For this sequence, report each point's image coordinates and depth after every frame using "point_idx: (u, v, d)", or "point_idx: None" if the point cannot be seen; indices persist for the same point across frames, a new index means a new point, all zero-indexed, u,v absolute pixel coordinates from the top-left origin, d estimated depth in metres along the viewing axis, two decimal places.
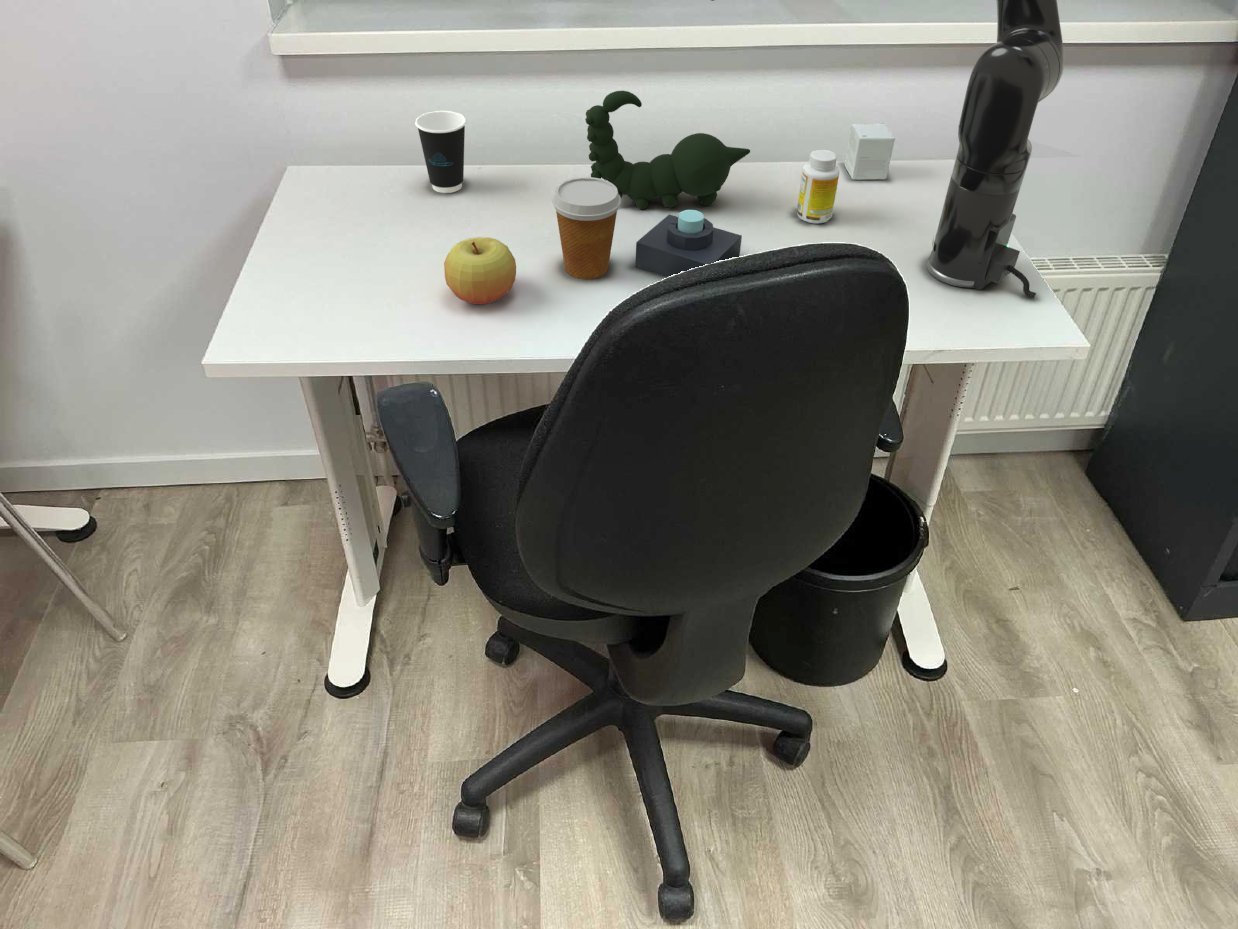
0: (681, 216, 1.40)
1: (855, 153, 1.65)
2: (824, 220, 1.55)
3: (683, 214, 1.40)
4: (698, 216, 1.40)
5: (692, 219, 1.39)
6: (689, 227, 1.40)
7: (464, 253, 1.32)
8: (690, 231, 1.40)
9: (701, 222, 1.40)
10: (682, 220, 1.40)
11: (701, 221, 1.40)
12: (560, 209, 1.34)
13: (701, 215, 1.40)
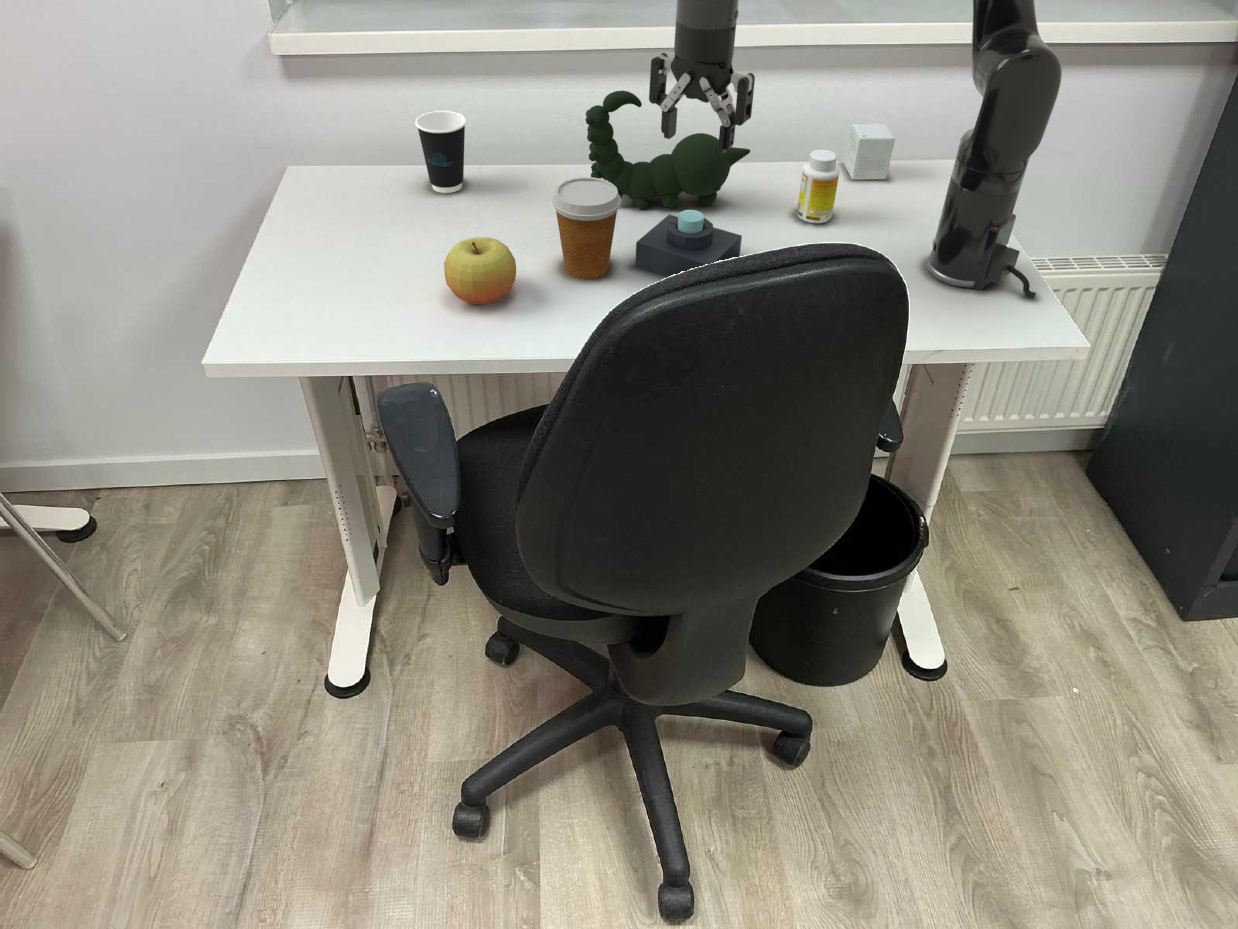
0: (681, 216, 1.40)
1: (855, 153, 1.65)
2: (824, 220, 1.55)
3: (683, 214, 1.40)
4: (698, 216, 1.40)
5: (692, 219, 1.39)
6: (689, 227, 1.40)
7: (464, 253, 1.32)
8: (690, 231, 1.40)
9: (701, 222, 1.40)
10: (682, 220, 1.40)
11: (701, 221, 1.40)
12: (560, 209, 1.34)
13: (701, 215, 1.40)
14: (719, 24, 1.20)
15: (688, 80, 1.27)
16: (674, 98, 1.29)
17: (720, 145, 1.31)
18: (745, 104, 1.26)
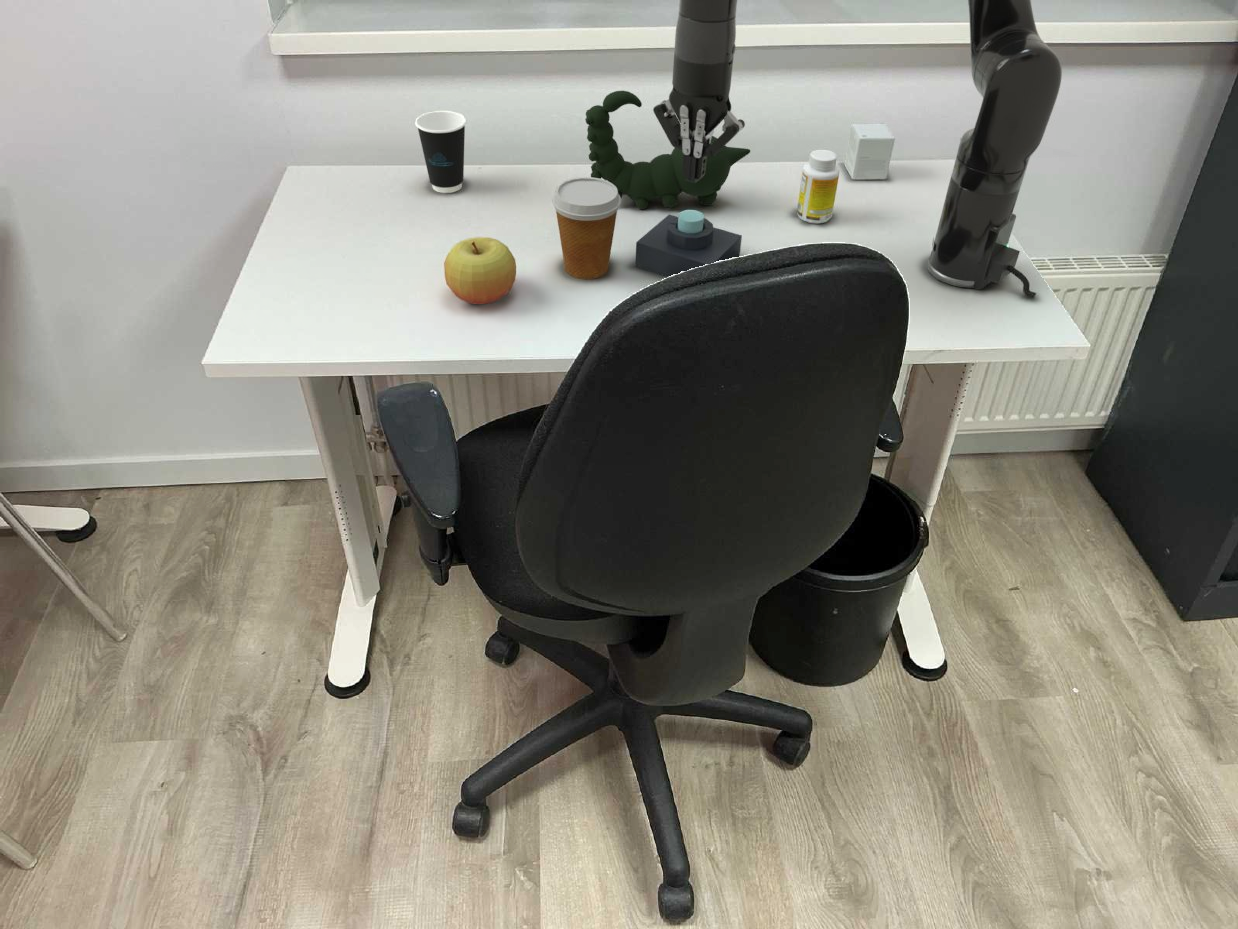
0: (681, 216, 1.40)
1: (855, 153, 1.65)
2: (824, 220, 1.55)
3: (683, 214, 1.40)
4: (698, 216, 1.40)
5: (692, 219, 1.39)
6: (689, 227, 1.40)
7: (464, 253, 1.32)
8: (690, 231, 1.40)
9: (701, 222, 1.40)
10: (682, 220, 1.40)
11: (701, 221, 1.40)
12: (560, 209, 1.34)
13: (701, 215, 1.40)
14: (717, 59, 1.22)
15: (686, 112, 1.29)
16: (687, 135, 1.31)
17: (692, 175, 1.35)
18: (723, 145, 1.30)
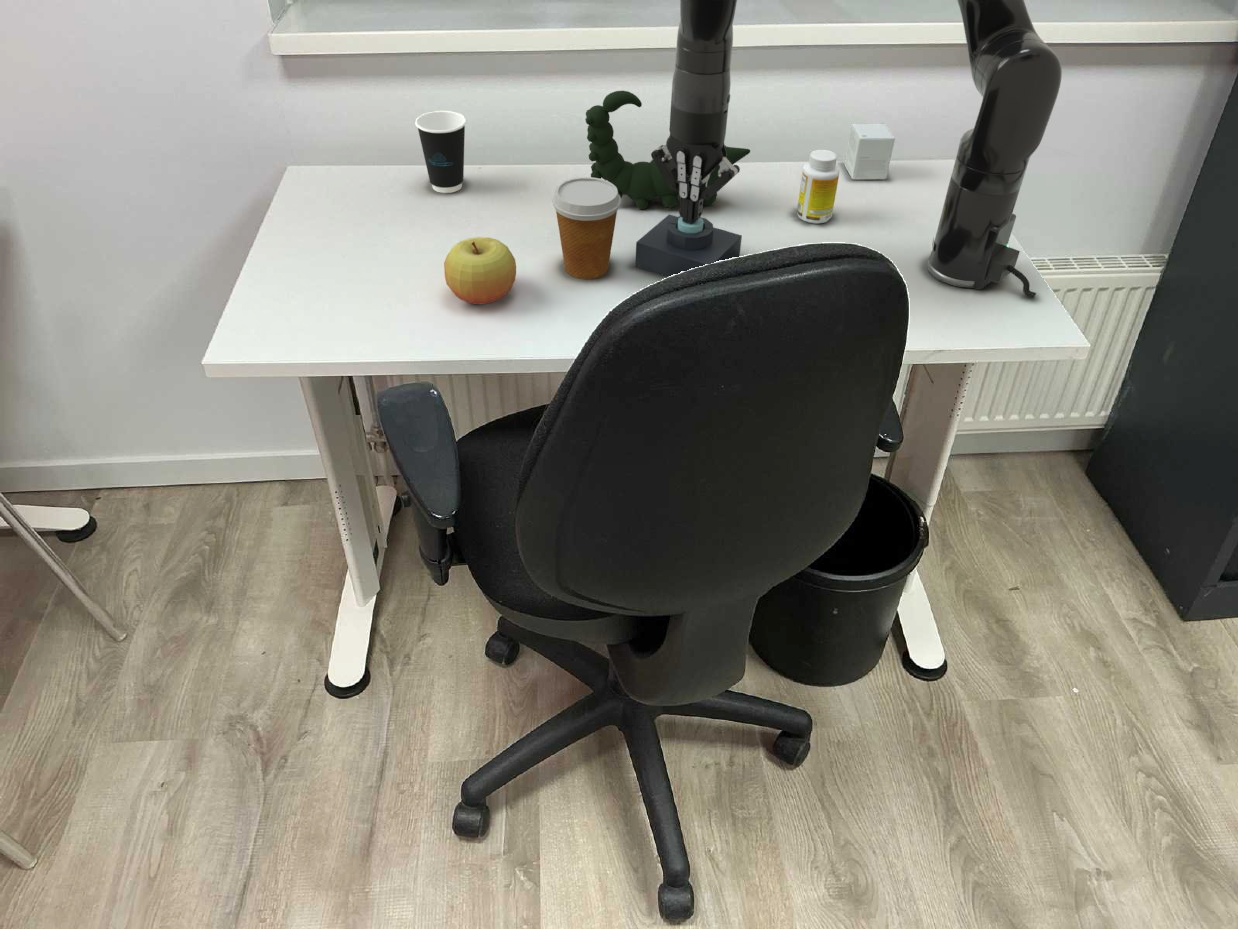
0: (681, 222, 1.40)
1: (855, 153, 1.65)
2: (824, 220, 1.55)
3: None
4: (697, 222, 1.41)
5: (691, 225, 1.40)
6: (689, 232, 1.40)
7: (464, 253, 1.32)
8: None
9: (701, 228, 1.40)
10: (681, 225, 1.40)
11: (701, 226, 1.40)
12: (560, 209, 1.34)
13: (701, 220, 1.41)
14: (712, 109, 1.27)
15: (683, 158, 1.33)
16: (684, 179, 1.35)
17: (689, 217, 1.39)
18: (719, 189, 1.34)
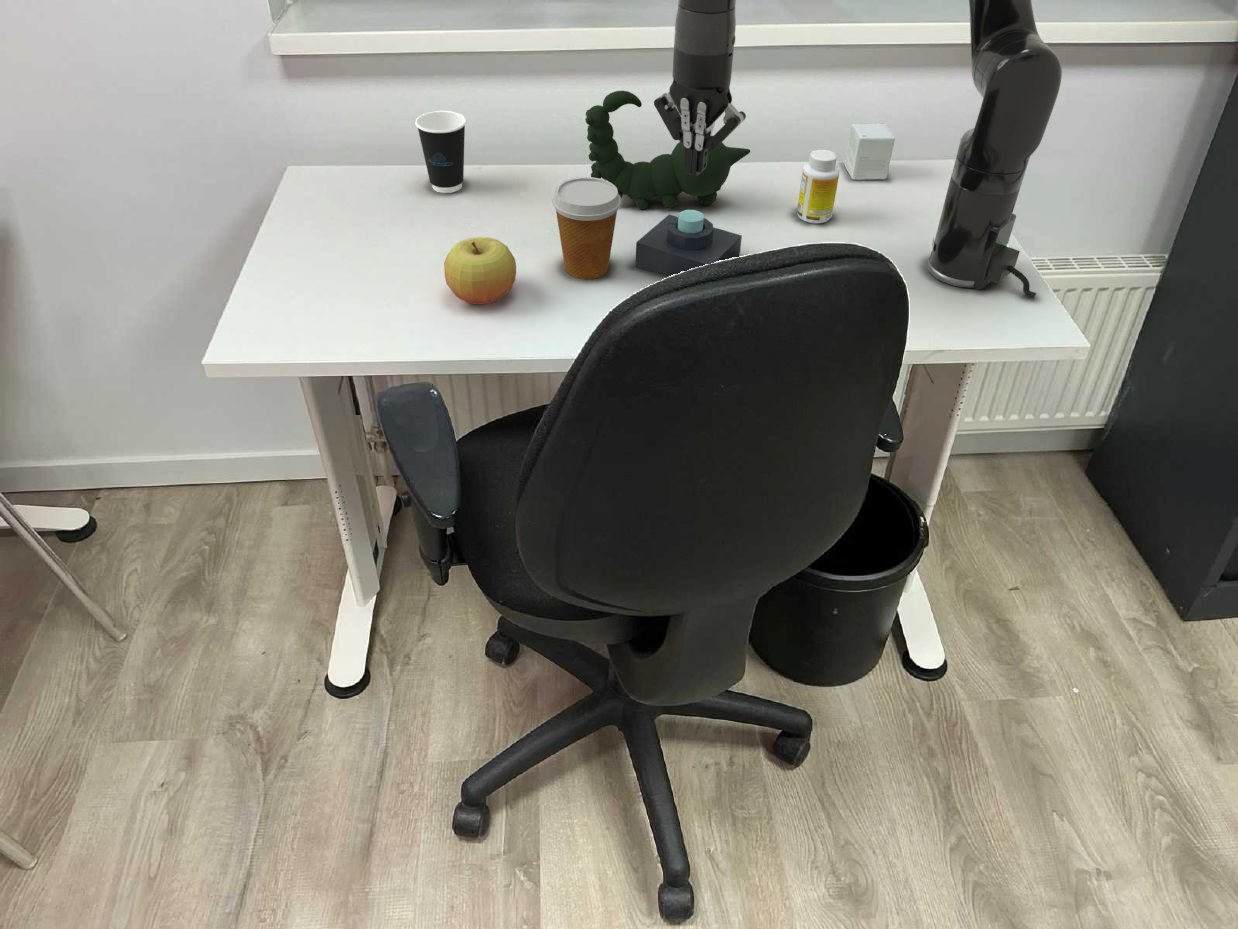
0: (681, 216, 1.40)
1: (855, 153, 1.65)
2: (824, 220, 1.55)
3: (683, 214, 1.40)
4: (698, 216, 1.40)
5: (692, 219, 1.39)
6: (689, 227, 1.40)
7: (464, 253, 1.32)
8: (690, 231, 1.40)
9: (701, 222, 1.40)
10: (682, 220, 1.40)
11: (701, 221, 1.40)
12: (560, 209, 1.34)
13: (701, 215, 1.40)
14: (717, 50, 1.22)
15: (686, 104, 1.29)
16: (688, 128, 1.31)
17: (693, 168, 1.34)
18: (724, 137, 1.30)
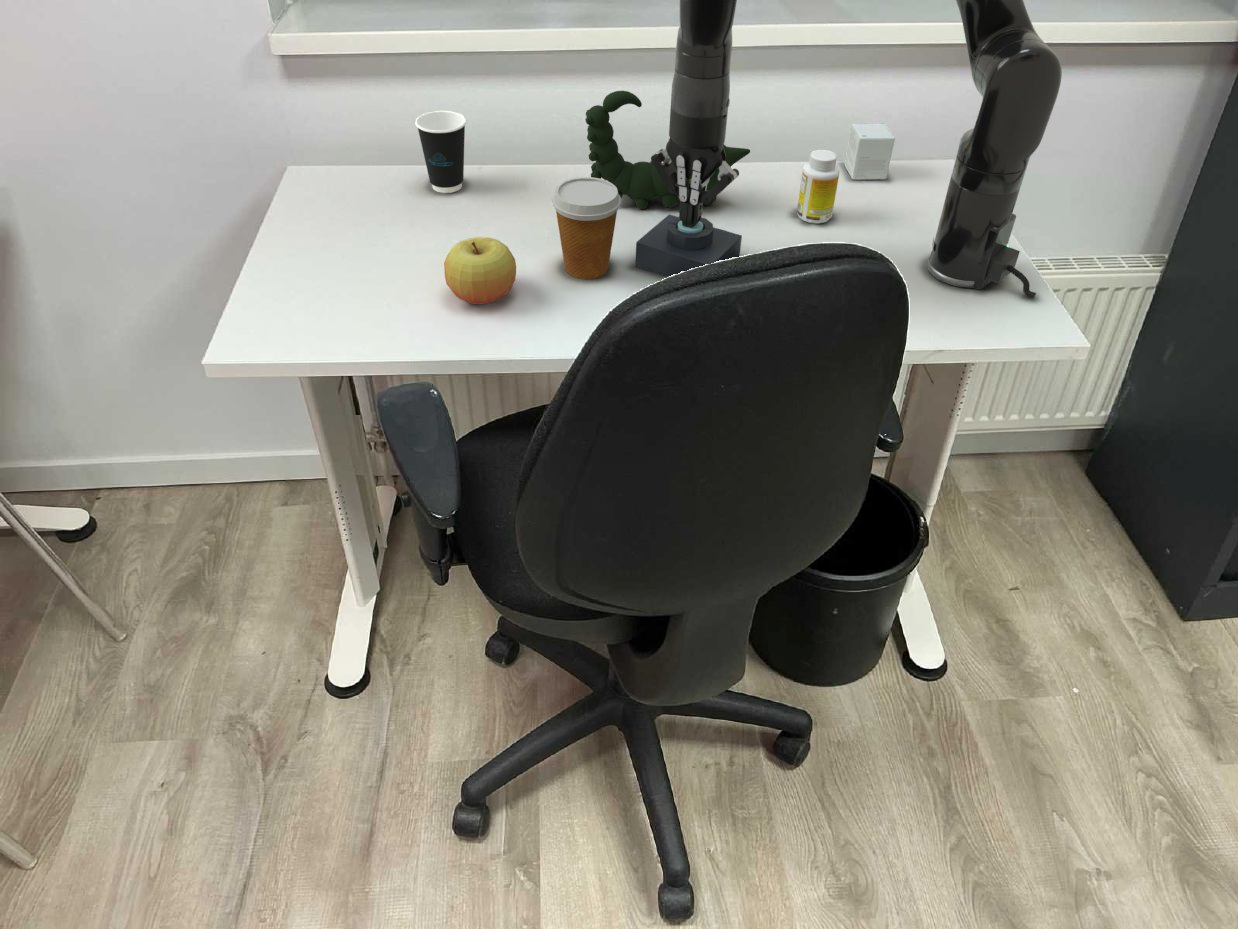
0: (680, 225, 1.41)
1: (855, 153, 1.65)
2: (824, 220, 1.55)
3: None
4: (697, 225, 1.41)
5: (691, 228, 1.40)
6: None
7: (464, 253, 1.32)
8: None
9: (701, 231, 1.41)
10: (681, 229, 1.40)
11: (700, 230, 1.41)
12: (560, 209, 1.34)
13: (700, 224, 1.41)
14: (711, 113, 1.27)
15: (682, 162, 1.34)
16: (684, 183, 1.36)
17: (689, 220, 1.40)
18: (718, 193, 1.35)
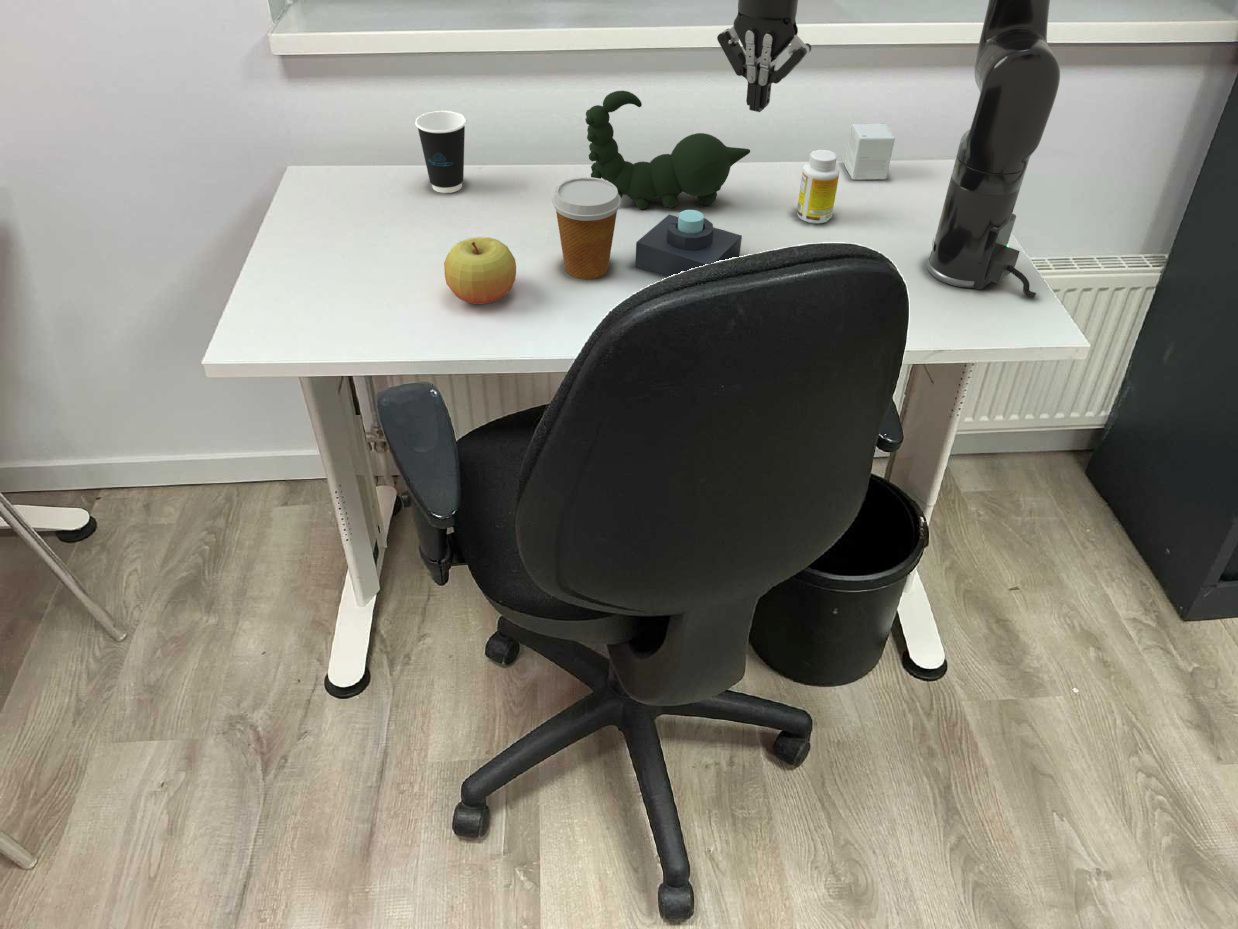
0: (681, 216, 1.40)
1: (855, 153, 1.65)
2: (824, 220, 1.55)
3: (683, 214, 1.40)
4: (698, 216, 1.40)
5: (692, 219, 1.39)
6: (689, 227, 1.40)
7: (464, 253, 1.32)
8: (690, 231, 1.40)
9: (701, 222, 1.40)
10: (682, 220, 1.40)
11: (701, 221, 1.40)
12: (560, 209, 1.34)
13: (701, 215, 1.40)
14: None
15: (752, 37, 1.28)
16: (752, 62, 1.30)
17: (757, 104, 1.34)
18: (790, 70, 1.29)
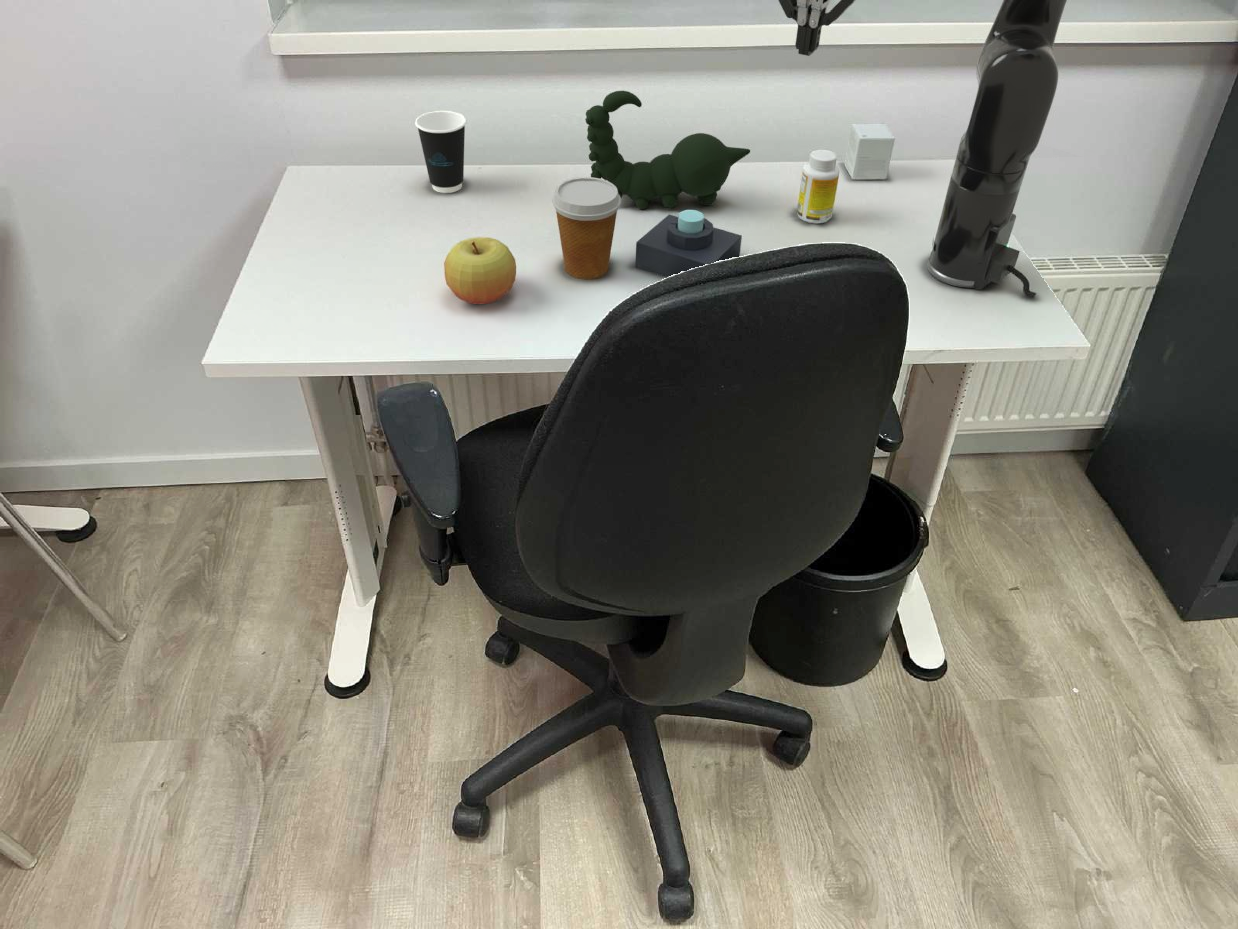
0: (681, 216, 1.40)
1: (855, 153, 1.65)
2: (824, 220, 1.55)
3: (683, 214, 1.40)
4: (698, 216, 1.40)
5: (692, 219, 1.39)
6: (689, 227, 1.40)
7: (464, 253, 1.32)
8: (690, 231, 1.40)
9: (701, 222, 1.40)
10: (682, 220, 1.40)
11: (701, 221, 1.40)
12: (560, 209, 1.34)
13: (701, 215, 1.40)
14: None
15: None
16: (804, 3, 1.30)
17: (806, 47, 1.33)
18: (842, 12, 1.28)
